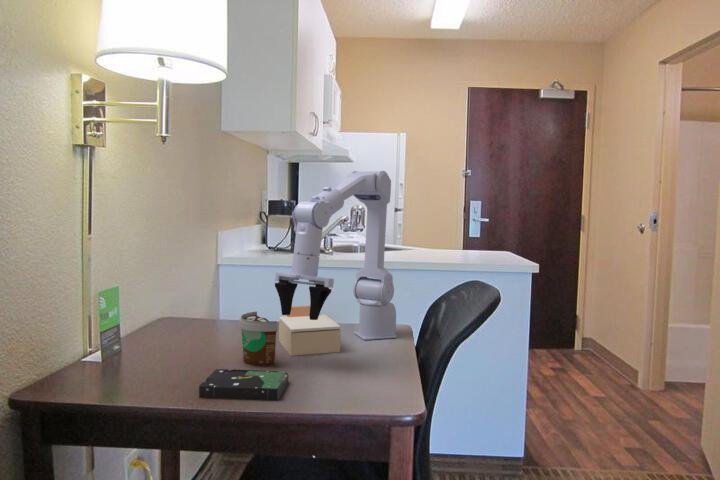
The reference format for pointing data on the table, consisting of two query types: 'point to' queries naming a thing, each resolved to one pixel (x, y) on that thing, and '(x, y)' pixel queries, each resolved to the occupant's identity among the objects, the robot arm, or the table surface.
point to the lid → (306, 320)
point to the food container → (258, 339)
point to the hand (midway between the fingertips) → (299, 317)
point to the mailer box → (309, 341)
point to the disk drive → (244, 384)
